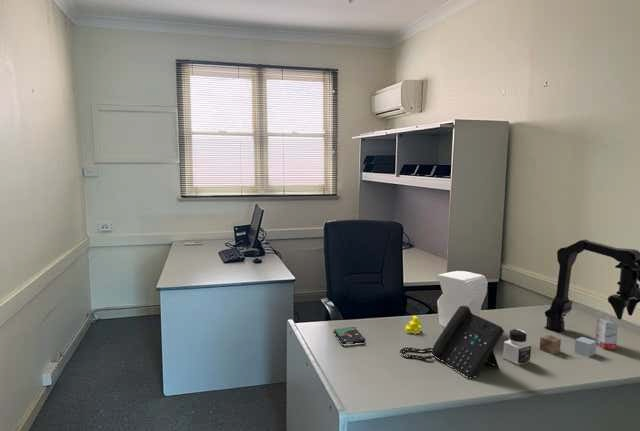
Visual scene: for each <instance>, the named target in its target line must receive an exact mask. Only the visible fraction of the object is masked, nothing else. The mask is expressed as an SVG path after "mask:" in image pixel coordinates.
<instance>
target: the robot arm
mask: <svg viewBox="0 0 640 431" xmlns="http://www.w3.org/2000/svg"><path fill="white" fill-rule="evenodd" d="M584 251H588V252H592V253H594V254H595V253H596V254H598V255H602V256H606V257H610V258H612V259H614V260H615V261H617V262H619V263H618V264H616V265H615V266H614V267H615V268H616V269H620V273H619V275H620V276H619V281H617V283H616V284H617V285H618V286H619V287H618V291H616V293H615V294H614V293H613V294H611V295H609V296H608V297H607V302H608V303H609V304H610V306H611V307H612V309H613V312H614V314H615V315H616V318H617V319H618V320H622V319H623V315H624V312H625V308H626V311H627V314H628V316H633V314H634V312H635V310H636V307H637V305H638V304H639V303H640V251H639V250H637V249H632V248H624V247H623V248H619V247H615V246H609V245H606V244H603V243H598V242H595V241H591V240H588V239H581V240H578V241H576V242H575V243H572V244H570V245H568V246H565V247H560V248H559V249H557V252H556V258H557V262H558V264H559V268H558V269H559V270H558V278H557V285H556V286H557V287H556V295H555V297H554V298H553V300H552V302H551V305H550V308H549V309H547V310H546V311H544V314H545V317H546V325H545V326H544V329H546V330H549V331H551V332H555V333H560V332H563V331H565V330H566V328H565V318H564V317H566V315H567V314H569V313H570V311H572V309H573V308H572V307H573V306H572V305H573V300H570V298H569V290H570V284H571V283H570V282H571V276H572V268H573V265H574V264H575V262H576V260H577V257H578V255H579V254H580V253H582V252H584Z"/></svg>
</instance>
